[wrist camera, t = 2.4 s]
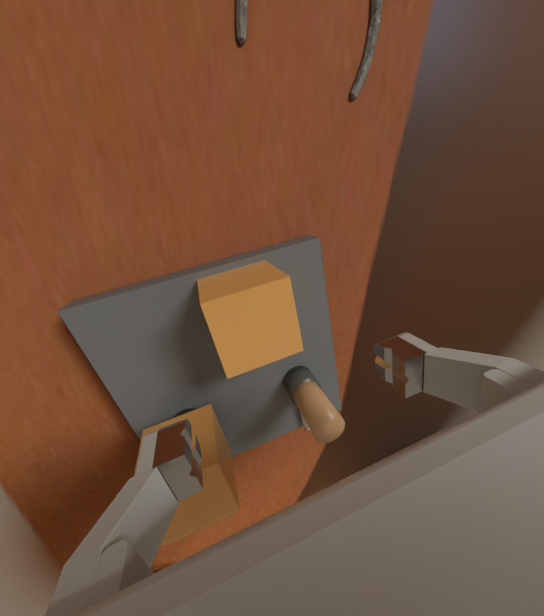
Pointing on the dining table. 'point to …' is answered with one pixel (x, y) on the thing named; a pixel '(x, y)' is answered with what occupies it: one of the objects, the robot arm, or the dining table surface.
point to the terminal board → (211, 370)
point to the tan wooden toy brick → (250, 316)
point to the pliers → (369, 47)
